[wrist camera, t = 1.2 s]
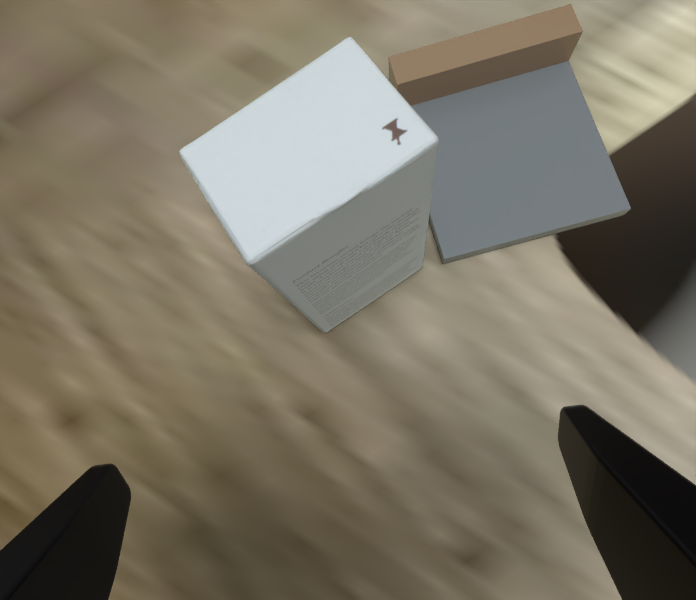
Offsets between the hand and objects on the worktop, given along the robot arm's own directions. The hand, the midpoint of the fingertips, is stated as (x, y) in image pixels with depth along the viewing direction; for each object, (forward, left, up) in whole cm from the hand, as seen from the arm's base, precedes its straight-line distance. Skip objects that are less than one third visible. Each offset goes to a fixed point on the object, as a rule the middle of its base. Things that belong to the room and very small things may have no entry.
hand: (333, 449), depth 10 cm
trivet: (+12, -10, -13) cm, 20 cm away
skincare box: (+8, -1, -14) cm, 16 cm away
